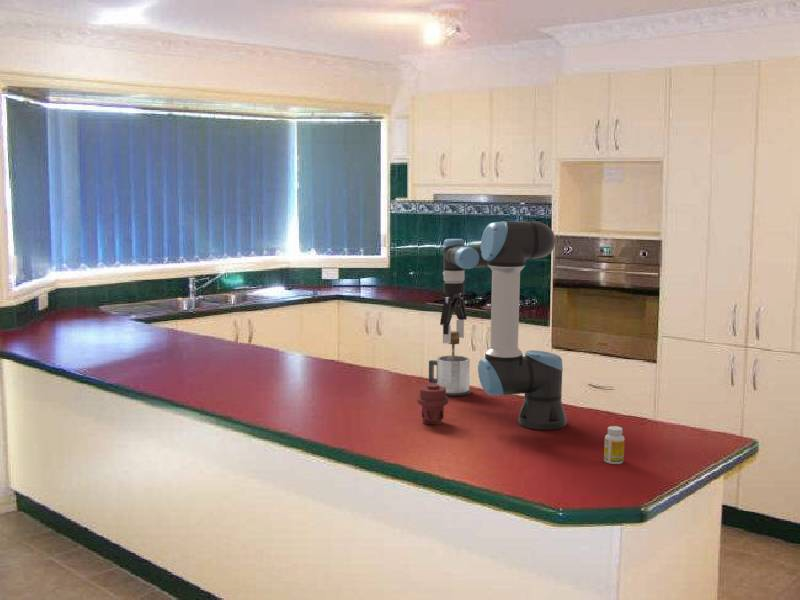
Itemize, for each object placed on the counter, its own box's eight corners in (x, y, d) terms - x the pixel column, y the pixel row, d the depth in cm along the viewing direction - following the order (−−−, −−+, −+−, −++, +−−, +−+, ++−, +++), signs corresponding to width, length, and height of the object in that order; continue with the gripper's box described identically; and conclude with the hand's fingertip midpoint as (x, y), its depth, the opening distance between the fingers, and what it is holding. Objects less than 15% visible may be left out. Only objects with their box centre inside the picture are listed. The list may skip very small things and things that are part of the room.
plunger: (466, 387, 329) (467, 331, 326) (459, 391, 321) (459, 334, 318) (446, 384, 332) (447, 329, 329) (438, 389, 325) (438, 333, 322)
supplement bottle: (600, 461, 248) (601, 428, 247) (610, 457, 252) (611, 424, 251) (617, 465, 245) (618, 431, 243) (627, 461, 248) (628, 427, 247)
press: (475, 390, 330) (475, 356, 328) (463, 398, 318) (463, 363, 316) (436, 386, 336) (436, 353, 335) (422, 393, 325) (423, 359, 323)
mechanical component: (452, 425, 283) (422, 428, 281) (442, 417, 293) (413, 419, 290) (452, 387, 282) (422, 389, 279) (442, 380, 291) (413, 382, 289)
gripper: (456, 278, 334) (456, 334, 337) (431, 285, 311) (430, 345, 314) (475, 279, 331) (474, 335, 333) (451, 285, 308) (450, 346, 311)
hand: (453, 340), depth 324 cm, fingers open, 13 cm apart
